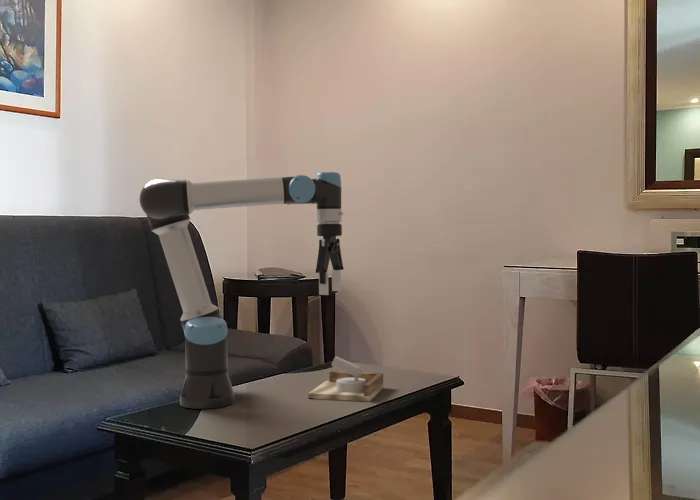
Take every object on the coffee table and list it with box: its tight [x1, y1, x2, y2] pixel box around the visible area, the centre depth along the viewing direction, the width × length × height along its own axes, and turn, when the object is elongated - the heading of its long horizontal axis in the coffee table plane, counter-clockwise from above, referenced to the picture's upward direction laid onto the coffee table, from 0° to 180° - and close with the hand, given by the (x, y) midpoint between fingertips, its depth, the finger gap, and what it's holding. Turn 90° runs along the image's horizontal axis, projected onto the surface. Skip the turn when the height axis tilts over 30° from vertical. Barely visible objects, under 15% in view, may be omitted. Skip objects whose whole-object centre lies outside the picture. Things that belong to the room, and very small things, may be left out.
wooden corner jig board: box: [307, 370, 384, 402], centre depth 221 cm, size 18×18×4 cm
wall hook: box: [331, 355, 366, 392], centre depth 220 cm, size 9×10×10 cm
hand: (330, 292), depth 230 cm, fingers open, 13 cm apart
